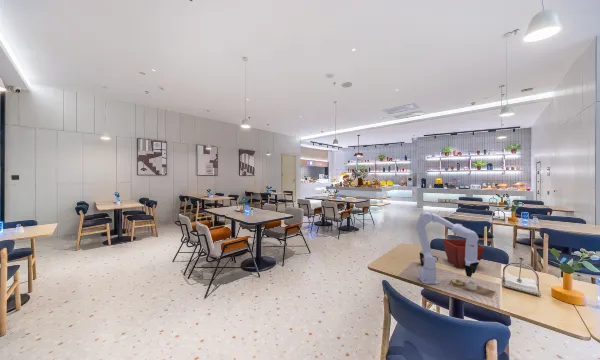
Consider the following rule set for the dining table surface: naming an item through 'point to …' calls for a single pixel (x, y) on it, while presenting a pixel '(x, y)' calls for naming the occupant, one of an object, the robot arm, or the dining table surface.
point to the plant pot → (459, 252)
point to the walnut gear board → (479, 290)
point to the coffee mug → (423, 258)
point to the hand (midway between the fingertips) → (470, 274)
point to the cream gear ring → (471, 285)
